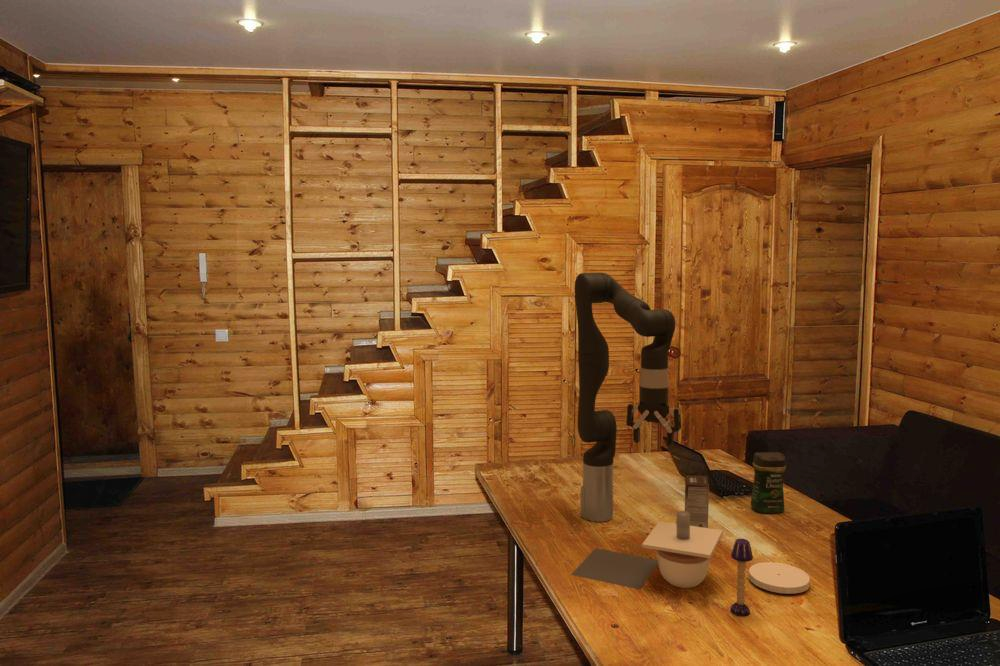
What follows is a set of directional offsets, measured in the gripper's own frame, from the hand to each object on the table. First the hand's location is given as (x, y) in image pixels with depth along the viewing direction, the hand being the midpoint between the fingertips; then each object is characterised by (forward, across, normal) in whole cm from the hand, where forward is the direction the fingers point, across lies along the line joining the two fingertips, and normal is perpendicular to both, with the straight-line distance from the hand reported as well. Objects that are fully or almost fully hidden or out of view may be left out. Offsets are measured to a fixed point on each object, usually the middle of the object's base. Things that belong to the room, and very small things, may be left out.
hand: (653, 444), depth 192 cm
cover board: (+19, +12, -15) cm, 27 cm away
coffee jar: (+30, +24, +47) cm, 61 cm away
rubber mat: (+30, -5, -15) cm, 34 cm away
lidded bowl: (+30, +12, -15) cm, 36 cm away
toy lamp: (+30, +27, -23) cm, 47 cm away
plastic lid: (+31, +33, -4) cm, 45 cm away
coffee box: (+30, +8, +18) cm, 36 cm away
